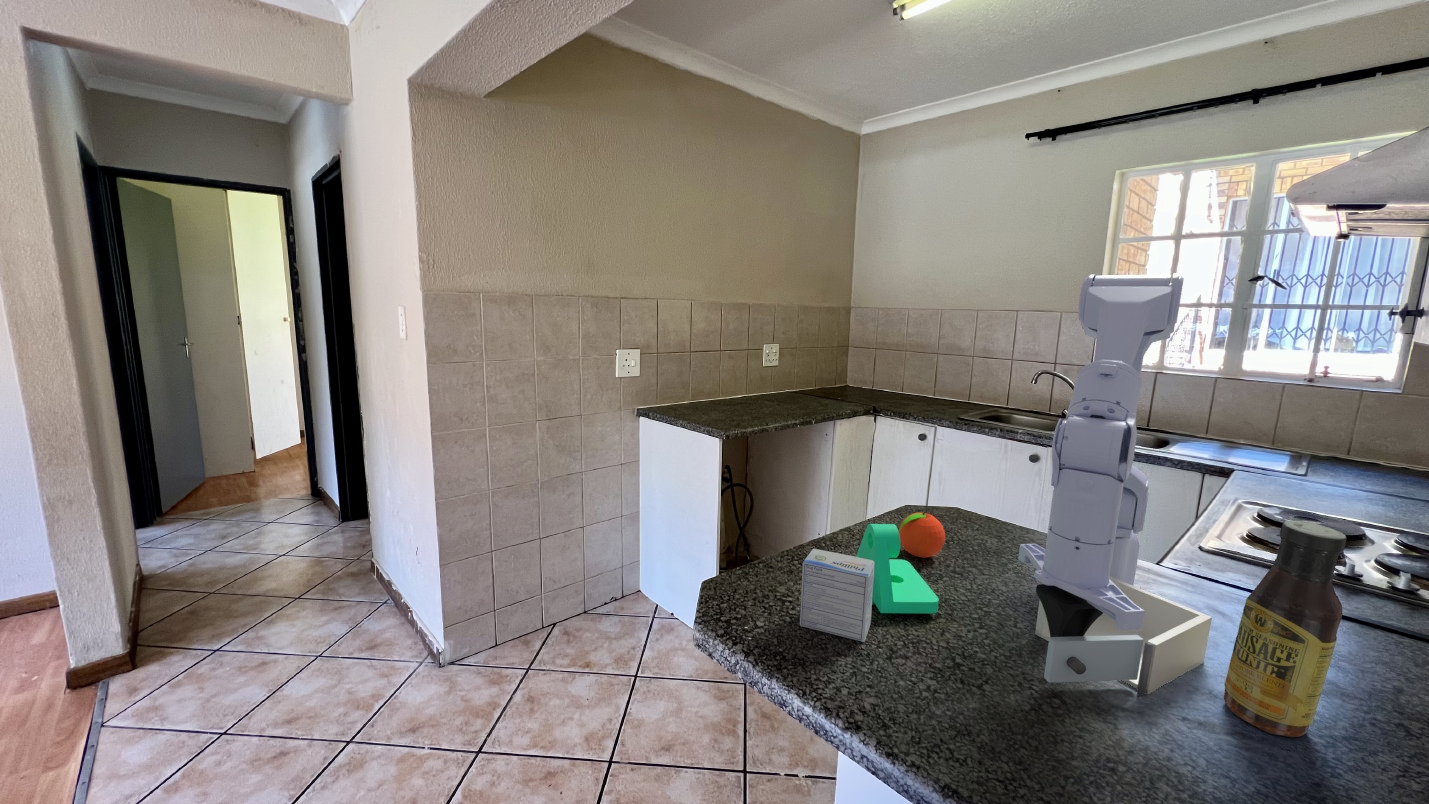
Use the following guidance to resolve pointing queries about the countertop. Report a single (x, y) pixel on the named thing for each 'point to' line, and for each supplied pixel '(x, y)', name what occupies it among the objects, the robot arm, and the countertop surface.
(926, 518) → the clementine
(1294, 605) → the sauce bottle
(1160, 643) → the cream case
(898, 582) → the camera mount
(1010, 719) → the countertop surface
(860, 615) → the medicine box
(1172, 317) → the robot arm
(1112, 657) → the case door
